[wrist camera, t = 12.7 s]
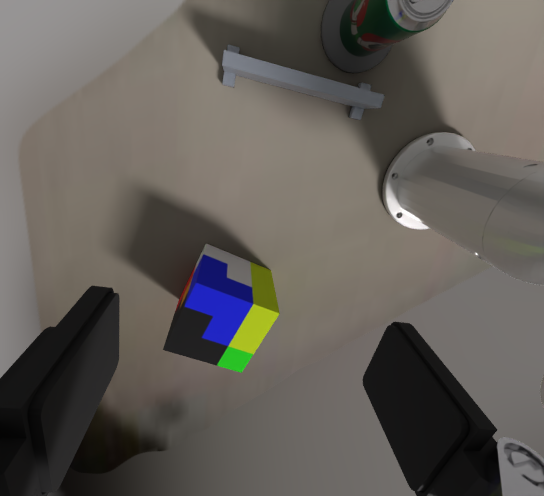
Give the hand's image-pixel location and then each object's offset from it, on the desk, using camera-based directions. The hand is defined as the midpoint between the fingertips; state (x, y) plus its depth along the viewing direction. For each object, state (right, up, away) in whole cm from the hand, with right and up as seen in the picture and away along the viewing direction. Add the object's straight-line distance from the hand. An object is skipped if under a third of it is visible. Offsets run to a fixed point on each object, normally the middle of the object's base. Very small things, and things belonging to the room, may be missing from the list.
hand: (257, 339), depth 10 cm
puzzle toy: (-6, -2, +32) cm, 33 cm away
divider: (+3, +21, +22) cm, 31 cm away
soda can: (+10, +26, +20) cm, 34 cm away
